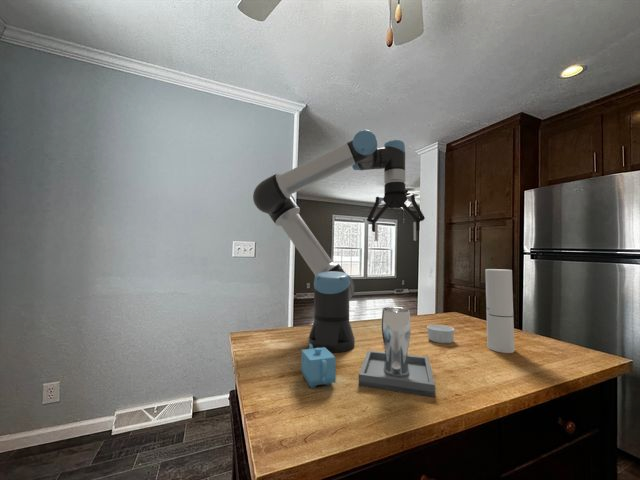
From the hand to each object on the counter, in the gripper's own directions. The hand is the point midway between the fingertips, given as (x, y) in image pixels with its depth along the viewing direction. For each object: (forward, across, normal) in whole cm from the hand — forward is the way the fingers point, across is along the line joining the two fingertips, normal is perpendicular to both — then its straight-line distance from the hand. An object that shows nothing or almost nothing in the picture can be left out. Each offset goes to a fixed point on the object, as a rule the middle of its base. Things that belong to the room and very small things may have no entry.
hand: (395, 240), depth 99 cm
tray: (+35, -1, +32) cm, 47 cm away
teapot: (+35, +17, +40) cm, 56 cm away
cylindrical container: (+35, -32, +2) cm, 47 cm away
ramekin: (+35, -15, -2) cm, 38 cm away
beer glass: (+34, -1, +32) cm, 47 cm away
